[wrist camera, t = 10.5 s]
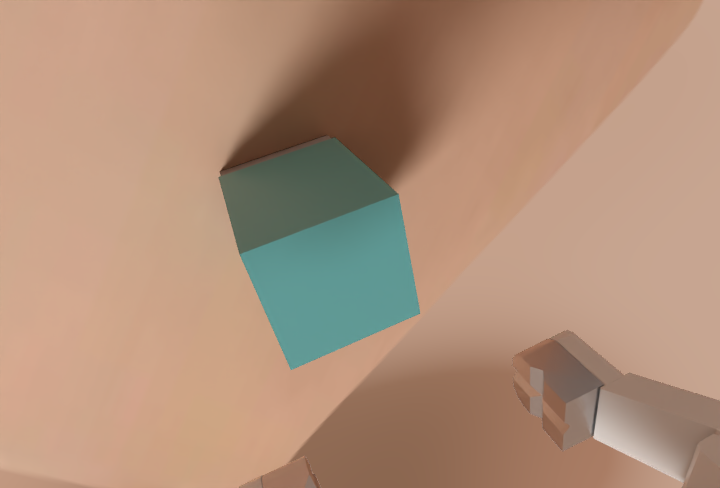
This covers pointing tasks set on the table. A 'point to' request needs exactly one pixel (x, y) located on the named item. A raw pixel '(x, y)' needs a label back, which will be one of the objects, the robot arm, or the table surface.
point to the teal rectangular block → (321, 248)
